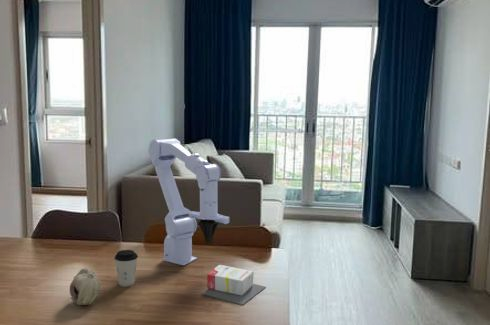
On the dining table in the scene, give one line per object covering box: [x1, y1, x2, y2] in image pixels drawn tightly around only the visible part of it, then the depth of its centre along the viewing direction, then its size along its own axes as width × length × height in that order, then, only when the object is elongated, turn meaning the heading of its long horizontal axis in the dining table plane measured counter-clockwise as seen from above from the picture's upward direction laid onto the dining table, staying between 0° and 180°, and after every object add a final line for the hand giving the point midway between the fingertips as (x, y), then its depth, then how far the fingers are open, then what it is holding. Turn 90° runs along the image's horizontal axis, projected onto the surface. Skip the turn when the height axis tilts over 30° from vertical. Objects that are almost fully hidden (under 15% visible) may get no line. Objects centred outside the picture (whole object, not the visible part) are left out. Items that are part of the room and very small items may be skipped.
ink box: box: [206, 264, 254, 296], centre depth 139 cm, size 9×5×12 cm
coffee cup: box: [114, 249, 139, 288], centre depth 141 cm, size 7×7×10 cm
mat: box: [201, 283, 266, 306], centre depth 138 cm, size 14×14×1 cm
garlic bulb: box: [68, 267, 101, 306], centre depth 127 cm, size 10×8×10 cm
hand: (208, 242), depth 150 cm, fingers closed
